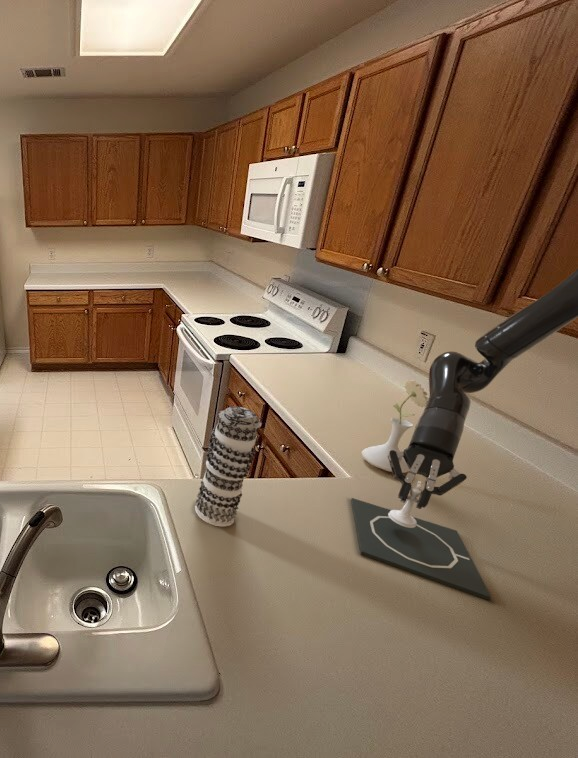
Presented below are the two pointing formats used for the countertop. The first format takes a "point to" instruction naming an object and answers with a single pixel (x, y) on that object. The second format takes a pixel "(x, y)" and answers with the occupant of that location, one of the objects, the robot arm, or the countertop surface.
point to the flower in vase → (396, 431)
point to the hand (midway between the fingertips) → (411, 504)
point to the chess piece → (407, 509)
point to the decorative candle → (227, 465)
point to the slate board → (417, 548)
